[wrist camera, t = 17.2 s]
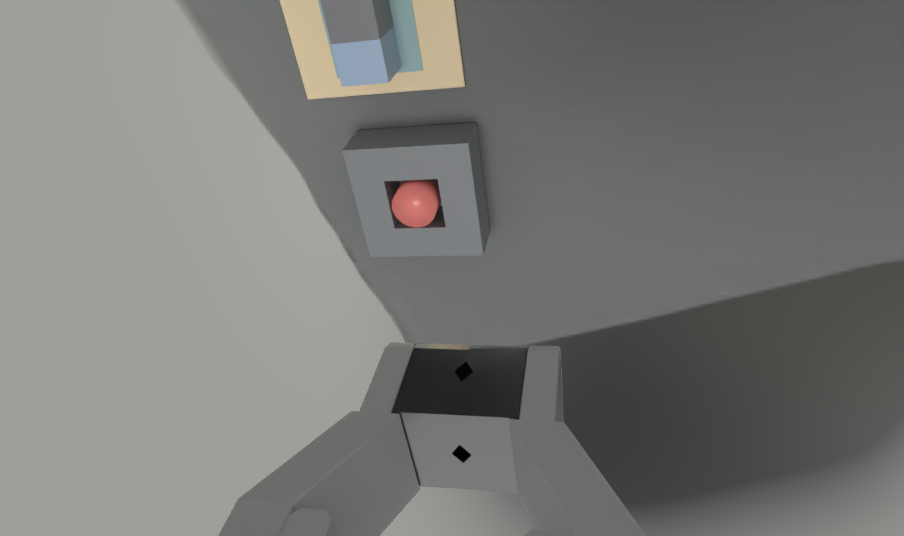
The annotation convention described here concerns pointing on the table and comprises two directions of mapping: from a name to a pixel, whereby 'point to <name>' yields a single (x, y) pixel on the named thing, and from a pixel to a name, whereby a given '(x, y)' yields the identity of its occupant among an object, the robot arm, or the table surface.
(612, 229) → the table surface
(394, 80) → the drawing pad
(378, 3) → the block
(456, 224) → the button console
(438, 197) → the button
